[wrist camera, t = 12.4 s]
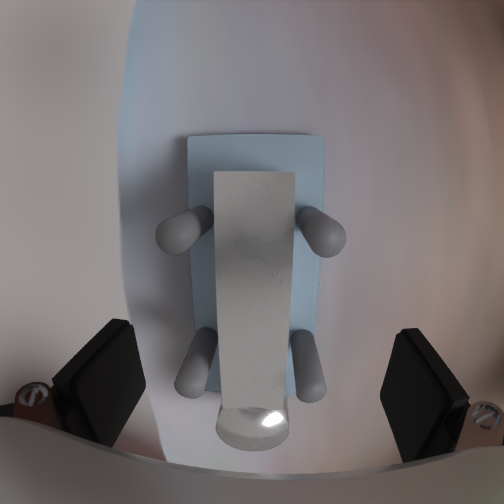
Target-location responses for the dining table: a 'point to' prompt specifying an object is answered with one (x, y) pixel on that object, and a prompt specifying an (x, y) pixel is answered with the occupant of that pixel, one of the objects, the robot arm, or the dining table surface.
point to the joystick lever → (253, 303)
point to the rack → (304, 251)
